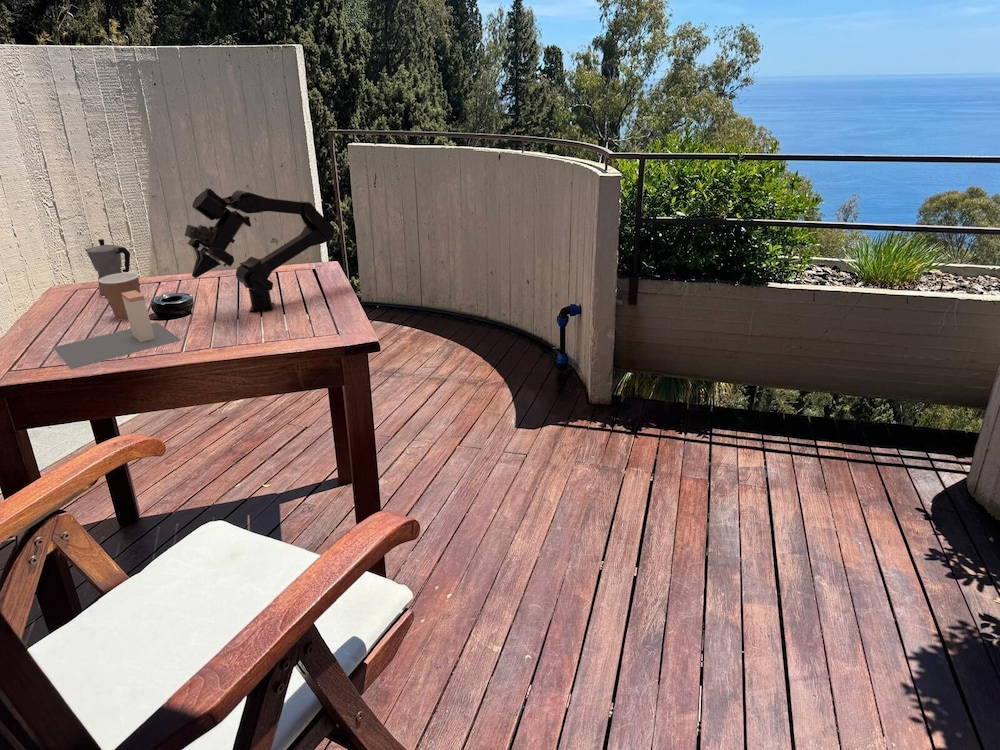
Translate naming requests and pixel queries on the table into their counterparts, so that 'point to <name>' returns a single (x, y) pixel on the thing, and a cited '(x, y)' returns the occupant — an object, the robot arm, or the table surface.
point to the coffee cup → (119, 291)
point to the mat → (111, 346)
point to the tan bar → (138, 315)
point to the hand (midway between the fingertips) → (193, 277)
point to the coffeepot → (108, 260)
